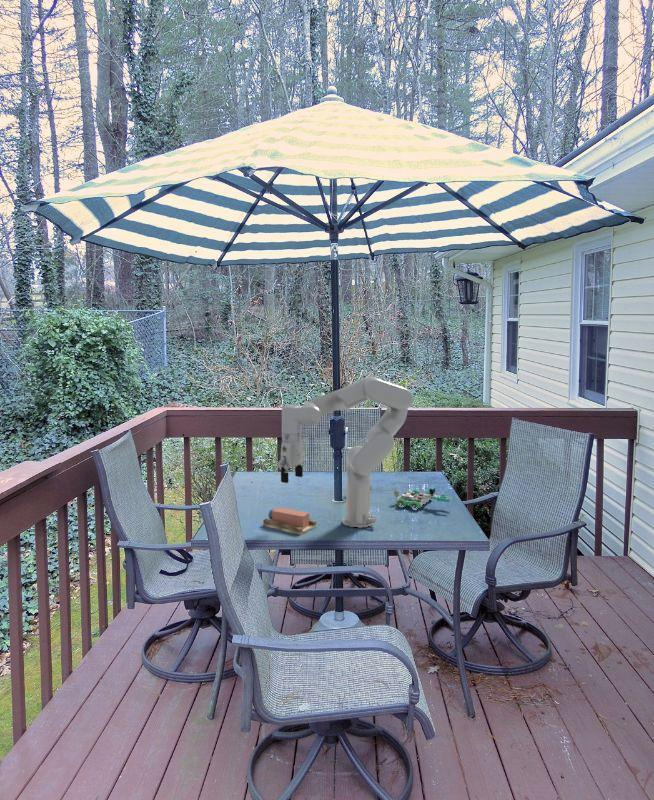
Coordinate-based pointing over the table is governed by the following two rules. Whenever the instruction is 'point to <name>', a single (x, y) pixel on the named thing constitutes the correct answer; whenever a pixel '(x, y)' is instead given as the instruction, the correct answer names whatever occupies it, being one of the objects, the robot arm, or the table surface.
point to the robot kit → (418, 498)
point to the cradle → (288, 526)
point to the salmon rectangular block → (290, 517)
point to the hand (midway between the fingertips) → (291, 479)
